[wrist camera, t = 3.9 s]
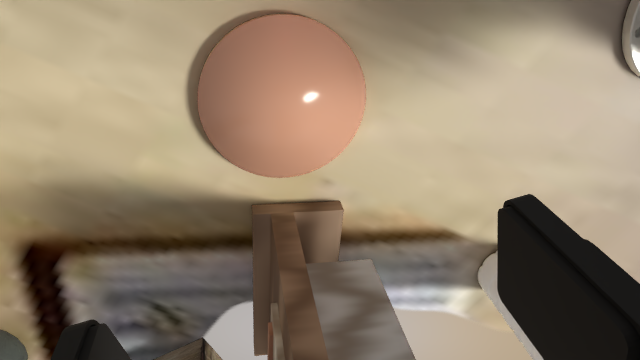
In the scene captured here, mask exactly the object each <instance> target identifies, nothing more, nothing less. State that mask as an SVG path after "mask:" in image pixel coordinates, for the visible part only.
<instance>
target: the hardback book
mask: <svg viewBox="0 0 640 360" xmlns="http://www.w3.org/2000/svg"><path fill="white" fill-rule="evenodd" d="M153 360H223V359H222V358H221V357H220V356H219V355H218V354H217V353H216V351H215V350H214V349H213V348H212V347H211V346H210V345H209V344H208V343H207V341H206V340H205V339H204V338H201V339H199V340H196V341H194V342H192V343H190V344H187V345H185V346H183V347H181V348H178V349H176V350H174V351H172V352H169V353H167V354H165V355H162V356H160V357H158V358H156V359H153Z"/></svg>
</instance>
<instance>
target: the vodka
mask: <svg viewBox="0 0 640 360" xmlns="http://www.w3.org/2000/svg"><path fill="white" fill-rule="evenodd" d="M27 359H28V355H27V352H26V349H25V346H24V345H23V344H22V343H21V342H20V341H19V340H18V339H17V338H16V337H14V336H13V335H11V334H9V333H8V332H6V331H3V330H0V360H27Z"/></svg>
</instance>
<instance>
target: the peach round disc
mask: <svg viewBox="0 0 640 360" xmlns="http://www.w3.org/2000/svg"><path fill="white" fill-rule="evenodd" d="M197 102H198V112H199V116H200V120H201V123H202V126H203V128H204V131H205V133H206V135H207V136H208V138H209V140H210V142H211V143H212V144H213V146H214V147H215V148H216V149H217V150H218V151H219V153H220V154H221V155H222V156H223V157H225V158H226V159H227V160H228V161H230V162H231V163H233V164H234V165H236V166H238V167H239V168H241V169H243V170H246V171H248V172H250V173H254V174H257V175H261V176H266V177H277V178H283V177H293V176H299V175H303V174H306V173H309V172H312V171H314V170H317V169H319V168H321V167H322V166H324V165H326V164H328V163H329V162H330V161H332V160H333V159H335V158H336V157H337V156H338V155H339V154H340V153H341V152H342V151H343V150H344V149H345V148H346V147H347V146H348V144H349V143H350V142H351V140H352V139H353V137H354V136H355V134H356V132H357V130H358V128H359V126H360V123H361V120H362V118H363V114H364V109H365V102H366V86H365V80H364V75H363V72H362V69H361V66H360V64H359V62H358V60H357V58H356V56H355V54H354V53H353V51H352V50H351V48H350V47H349V46H348V45H347V44H346V42H345V41H344V40H343V39H342V38H341V37H340V36H339V35H337V34H336V33H335V32H334V31H333V30H331V29H330V28H328V27H327V26H325V25H324V24H322V23H320V22H318V21H315V20H313V19H311V18H307V17H304V16H300V15H294V14H271V15H265V16H261V17H257V18H254V19H251V20H249V21H247V22H244V23H242V24H241V25H239V26H237V27H236V28H234V29H232V30H231V31H230V32H229V33H228V34H226V35H225V36H224V37H223V38H222V39H221V40H220V41H219V42H218V43H217V44H216V46H215V47H214V48H213V50H212V51H211V53H210V54H209V56H208V58H207V60H206V62H205V64H204V66H203V69H202V72H201V75H200V80H199V86H198V98H197Z"/></svg>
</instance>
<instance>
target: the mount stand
mask: <svg viewBox="0 0 640 360" xmlns="http://www.w3.org/2000/svg"><path fill="white" fill-rule="evenodd" d="M343 212H344V209H343V207H342V205H341V202H340V201H330V202H308V203H285V204H263V205H252V237H253V310H254V311H253V317H254V318H253V319H254V354H255V356H259V355H268V360H416V359H415V357H414V355H413V352H412V350H411V348H410V346H409V344H408V341H407V339H406V336H405V334H404V332H403V330H402V328H401V325H400V323H399V321H398V318H397V316H396V314H395V311H394V309H393V307H392V305H391V302H390V300H389V298H388V296H387V293H386V291H385V289H384V286H383V284H382V282H381V280H380V277H379V275H378V273H377V271H376V268H375V266H374V264H373V261H372V259H365V260H351V261H338V257H339V248H340V239H341V230H342V221H343Z"/></svg>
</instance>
